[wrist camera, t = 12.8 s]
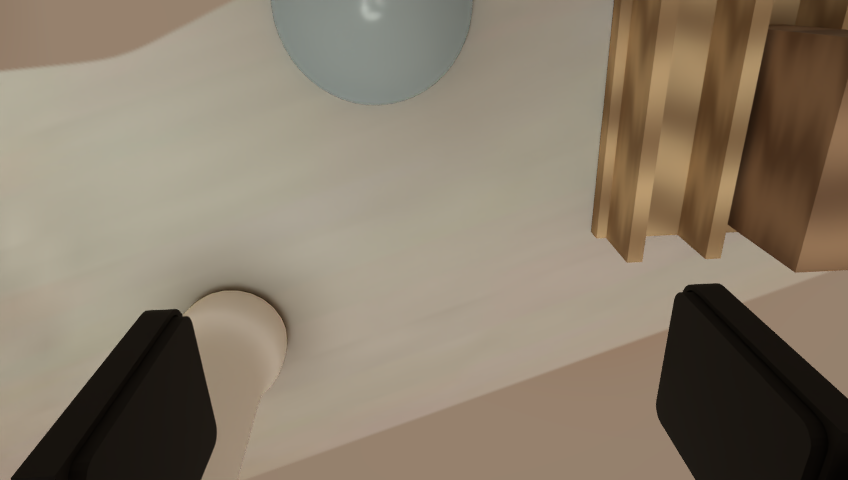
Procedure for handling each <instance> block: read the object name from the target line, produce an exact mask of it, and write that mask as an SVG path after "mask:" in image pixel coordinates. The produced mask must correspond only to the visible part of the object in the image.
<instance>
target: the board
mask: <svg viewBox="0 0 848 480" xmlns="http://www.w3.org/2000/svg"><path fill="white" fill-rule="evenodd" d="M727 225H729V226H730V227H732V228H733V229H734V230H736V231H737V232H739V233H740V234H741V235H743V236H744V237H746V238H747V239H749V240H750V241H751V242H753V243H754V244H756V245H757V246H758V247H760V248H761V249H763V250H764V251H766V252H767V253H768V254H770V255H771V256H773V257H774V258H775V259H777V260H778V261H780V262H781V263H783V264H784V265H785V266H787V267H788V268H790V269H791V270H792V271H794V272H816V271H837V270H848V30H845V29H833V28H821V27H809V26H797V25H785V24H782V25H769V27H768V32H767V36H766V41H765V46H764V51H763V56H762V61H761V65H760V70H759V75H758V80H757V85H756V89H755V94H754V99H753V104H752V109H751V113H750V118H749V123H748V128H747V133H746V137H745V142H744V147H743V152H742V157H741V162H740V166H739V171H738V176H737V181H736V186H735V190H734V195H733V200H732V205H731V210H730V214H729V219H728V224H727Z"/></svg>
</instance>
